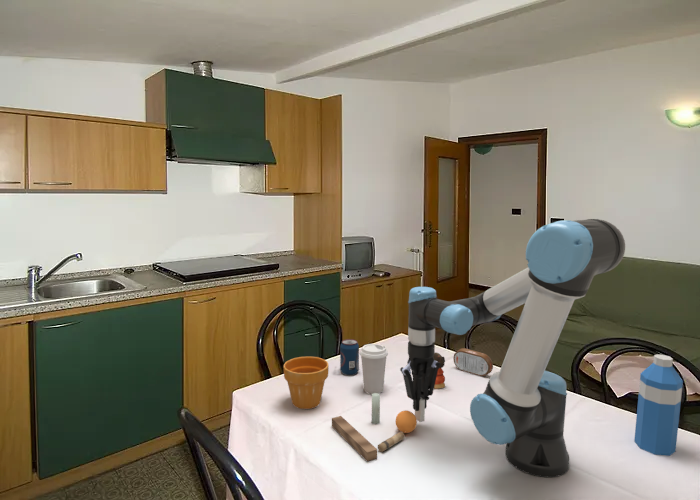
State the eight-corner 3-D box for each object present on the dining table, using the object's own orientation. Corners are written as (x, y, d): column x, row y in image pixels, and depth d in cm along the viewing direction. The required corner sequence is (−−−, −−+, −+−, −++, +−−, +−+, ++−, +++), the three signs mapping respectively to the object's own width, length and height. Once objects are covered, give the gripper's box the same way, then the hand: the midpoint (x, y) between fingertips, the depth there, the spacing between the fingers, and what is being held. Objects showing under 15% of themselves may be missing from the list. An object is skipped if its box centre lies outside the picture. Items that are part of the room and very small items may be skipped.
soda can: (338, 369, 178) (338, 339, 177) (356, 368, 180) (356, 337, 178) (342, 377, 172) (342, 345, 170) (361, 375, 173) (361, 343, 172)
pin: (401, 440, 130) (380, 453, 124) (397, 433, 131) (376, 446, 125) (406, 437, 129) (384, 450, 123) (401, 430, 130) (380, 442, 124)
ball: (419, 417, 131) (402, 428, 129) (421, 429, 134) (404, 441, 132) (407, 402, 135) (390, 413, 133) (409, 415, 139) (392, 425, 137)
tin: (492, 377, 172) (493, 355, 171) (489, 379, 170) (490, 357, 169) (455, 366, 182) (456, 345, 181) (451, 368, 180) (452, 347, 179)
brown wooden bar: (377, 458, 121) (377, 449, 121) (367, 461, 120) (367, 452, 119) (340, 423, 138) (340, 415, 138) (331, 426, 137) (331, 418, 137)
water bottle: (676, 460, 121) (686, 366, 117) (633, 449, 125) (642, 359, 122) (674, 443, 128) (683, 355, 125) (634, 433, 133) (642, 348, 130)
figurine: (448, 385, 165) (449, 352, 163) (442, 391, 160) (443, 357, 159) (431, 381, 168) (432, 348, 167) (425, 386, 164) (426, 353, 162)
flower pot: (334, 409, 147) (334, 369, 145) (289, 416, 143) (289, 375, 141) (321, 390, 160) (321, 354, 159) (280, 397, 156) (279, 359, 154)
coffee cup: (385, 397, 156) (386, 353, 154) (357, 394, 158) (357, 351, 155) (389, 385, 165) (389, 343, 163) (362, 382, 167) (362, 342, 165)
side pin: (381, 422, 139) (381, 395, 138) (374, 424, 138) (374, 397, 137) (376, 419, 141) (377, 392, 140) (370, 421, 140) (370, 394, 139)
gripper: (431, 334, 140) (429, 409, 143) (394, 341, 134) (393, 419, 137) (448, 341, 134) (445, 420, 137) (410, 349, 127) (408, 431, 131)
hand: (419, 419), depth 137 cm, fingers closed
